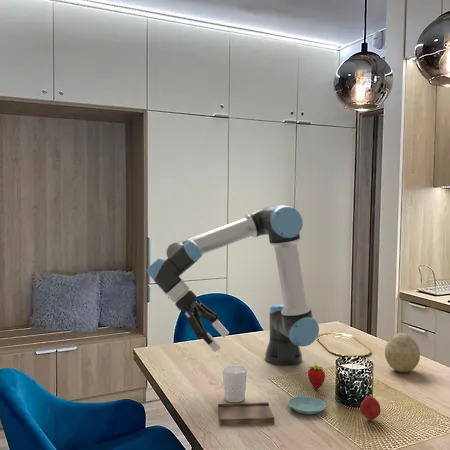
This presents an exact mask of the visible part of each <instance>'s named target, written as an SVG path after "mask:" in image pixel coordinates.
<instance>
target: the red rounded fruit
mask: <svg viewBox="0 0 450 450" xmlns="http://www.w3.org/2000/svg"><path fill="white" fill-rule="evenodd" d="M359 409H360V412H361V415H362V416H364V418H366V419H367V420H368V421H369V422H372V421H374V420H376V418H378V417H379V416H380V414H381V405H380V403H379V401H378V400H377V399H376V398H374V397H373V395H372V394H369V395H368V396H367V397H364V399H363V400H362V401H361V403H360V408H359Z"/></svg>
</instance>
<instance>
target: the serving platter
mask: <svg viewBox="0 0 450 450" xmlns="http://www.w3.org/2000/svg"><path fill="white" fill-rule="evenodd" d="M328 334H337V335H343V336H347V337H350V338H352V339H354V340H355V341H357V342H358V343H360V344H361V345H363V346H364V347H365V348H367V349H368V350H369V351H370V352H369V353H368V354H369V355H370V354H371V353H372V348H370V347H369V346H367V345H366V344H365V343H364V342H362V341H361V340H359V338H357V337H355V336H354V335H351V334H349V333H348V334H346V333H341V332H324V333H320V334H318V337H317V338H316V340H317V342H319V343H320V344H321V345H322V346H323V347H324V348H325V349H326V350H327V351H328V352H329V353H331V354H332V353H333V354H332V355H335V354H336V355H335V356H338V355H344V356H364V355H367V356H369V355H368V354H367V353H365V354H357V355H355V354H353V355H351V354H343V353H337V352H334V351H332V350H330V349H329V348H328V347H327V346H326V345H325V344H324V343H323V342H322V341H321V340H320V341H319V340H318V338H319V337H320V336H323V335H328ZM364 357H365V356H364Z"/></svg>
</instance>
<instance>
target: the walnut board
mask: <svg viewBox="0 0 450 450" xmlns="http://www.w3.org/2000/svg"><path fill="white" fill-rule="evenodd" d="M217 410H218V416H219V417H218V419H219V424H220V426H245V425H246V426H247V425H249V426H250V425H273V424H274V425H275V420H276V419H275V416H274V415H273V413H272V410H271V407H270V402H268V401H267V402H266V401H265V402H228V403H218V405H217Z"/></svg>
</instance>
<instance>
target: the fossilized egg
mask: <svg viewBox="0 0 450 450" xmlns="http://www.w3.org/2000/svg"><path fill="white" fill-rule="evenodd" d="M384 356H385V360H386V363H388V365H389V367H391V369H392V370H394V371H397V372H399V373H408V372H411V371H413V370H414V369H416V367H417V366H418V364H419V363H420V361H421V360H420V359H421V353H420V349H419V345H418V344H417V342H416V341H415V339H414V338H413V337H412V336H410V335H409V334H408V333H406V332H398V333H395V334H394V335H393V336H391V337H390V339H389V340H388V341H387V343H386V345H385V348H384Z"/></svg>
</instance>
